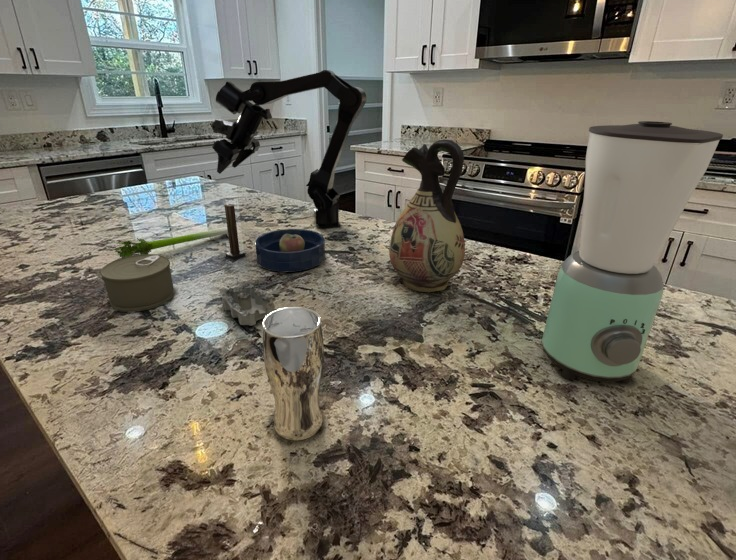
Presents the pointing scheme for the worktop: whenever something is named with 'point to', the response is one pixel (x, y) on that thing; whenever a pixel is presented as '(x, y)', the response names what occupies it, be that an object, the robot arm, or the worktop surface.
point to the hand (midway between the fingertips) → (226, 169)
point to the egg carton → (247, 303)
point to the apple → (291, 243)
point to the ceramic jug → (429, 223)
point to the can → (138, 282)
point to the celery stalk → (164, 242)
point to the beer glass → (294, 369)
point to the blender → (622, 245)
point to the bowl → (290, 261)
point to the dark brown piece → (232, 233)
